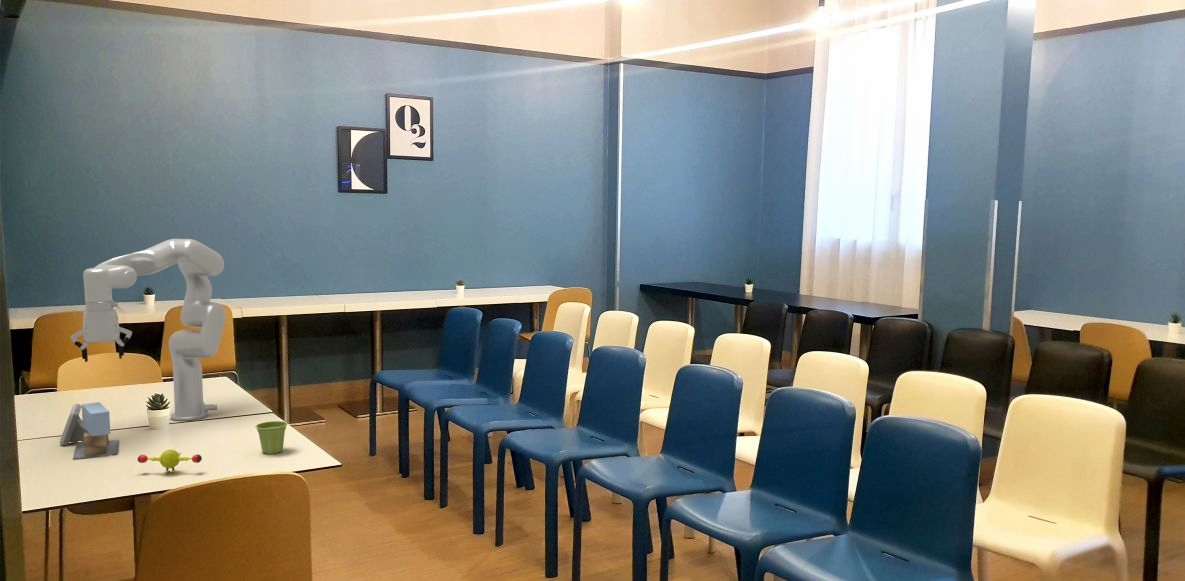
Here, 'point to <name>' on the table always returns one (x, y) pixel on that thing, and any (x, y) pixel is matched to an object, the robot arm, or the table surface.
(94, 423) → the lintel
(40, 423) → the table surface
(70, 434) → the digital clock
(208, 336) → the robot arm
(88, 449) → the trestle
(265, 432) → the plant pot
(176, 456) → the toy figure
